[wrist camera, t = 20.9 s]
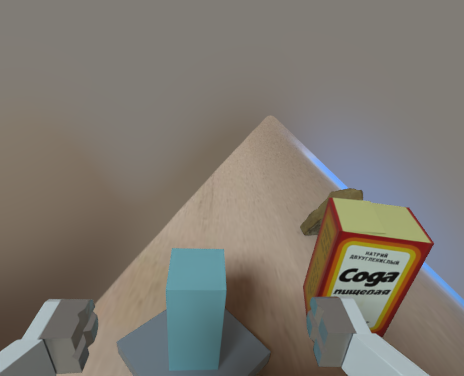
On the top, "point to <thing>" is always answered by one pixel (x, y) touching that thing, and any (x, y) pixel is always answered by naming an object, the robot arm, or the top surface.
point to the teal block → (195, 308)
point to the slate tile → (157, 370)
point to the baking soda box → (367, 257)
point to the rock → (316, 217)
